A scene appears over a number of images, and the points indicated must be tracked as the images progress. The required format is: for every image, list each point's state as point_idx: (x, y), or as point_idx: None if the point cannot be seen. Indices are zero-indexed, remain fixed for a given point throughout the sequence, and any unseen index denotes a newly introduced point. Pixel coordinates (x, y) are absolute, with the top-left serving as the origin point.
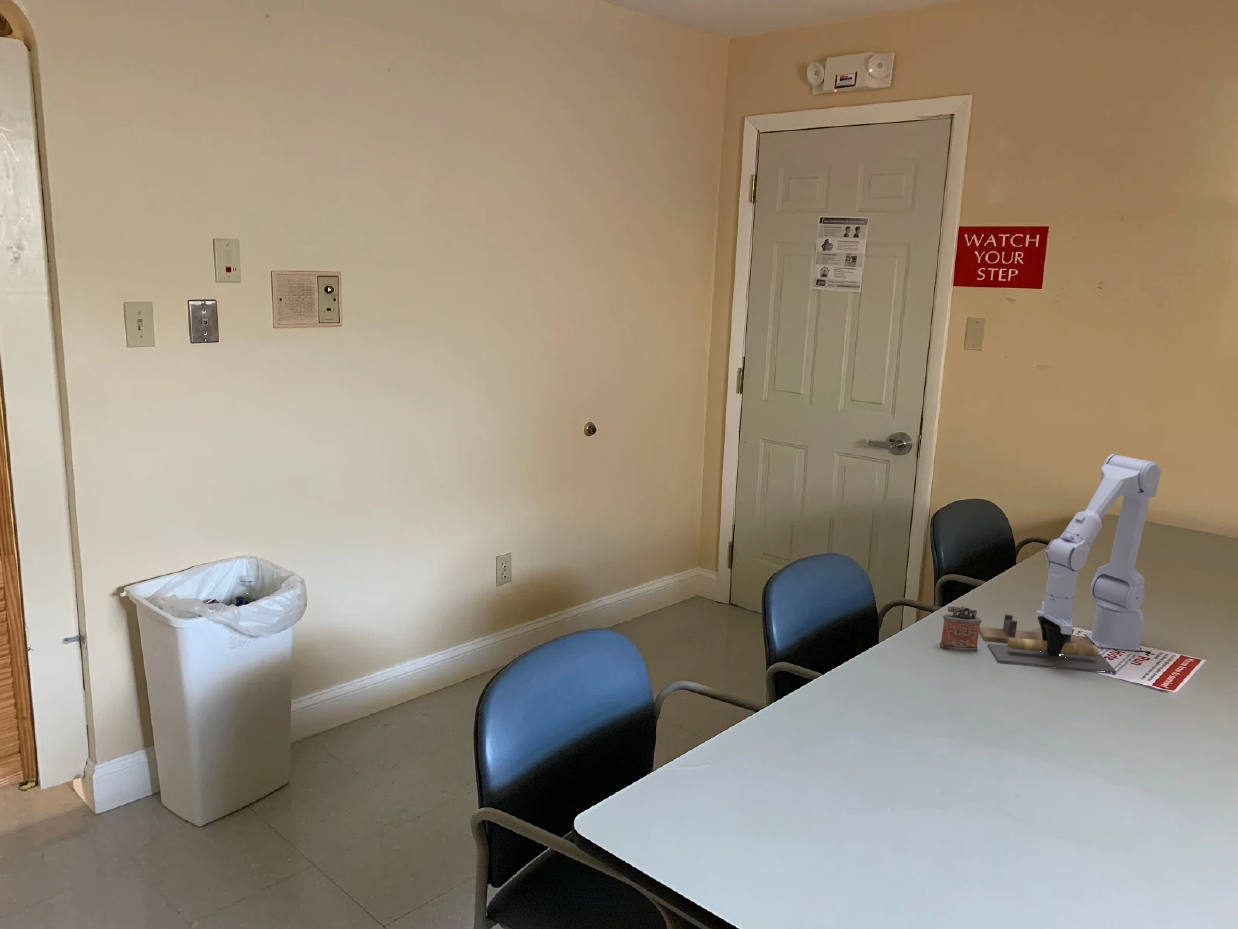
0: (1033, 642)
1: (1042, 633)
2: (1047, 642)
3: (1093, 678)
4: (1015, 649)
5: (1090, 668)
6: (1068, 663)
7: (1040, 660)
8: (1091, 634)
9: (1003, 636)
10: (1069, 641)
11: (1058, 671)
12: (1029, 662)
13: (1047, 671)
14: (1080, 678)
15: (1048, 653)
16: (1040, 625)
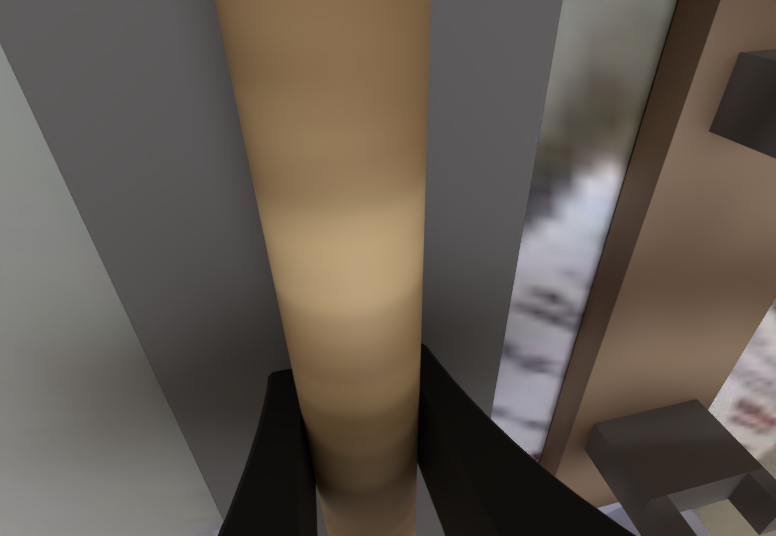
0: (309, 328)
1: (495, 460)
2: (285, 475)
3: (115, 526)
4: (452, 81)
5: None
6: None
7: (224, 287)
8: None
9: (773, 5)
10: (591, 456)
11: (103, 381)
12: (85, 178)
13: (32, 311)
14: (53, 483)
15: (270, 386)
16: (598, 529)
